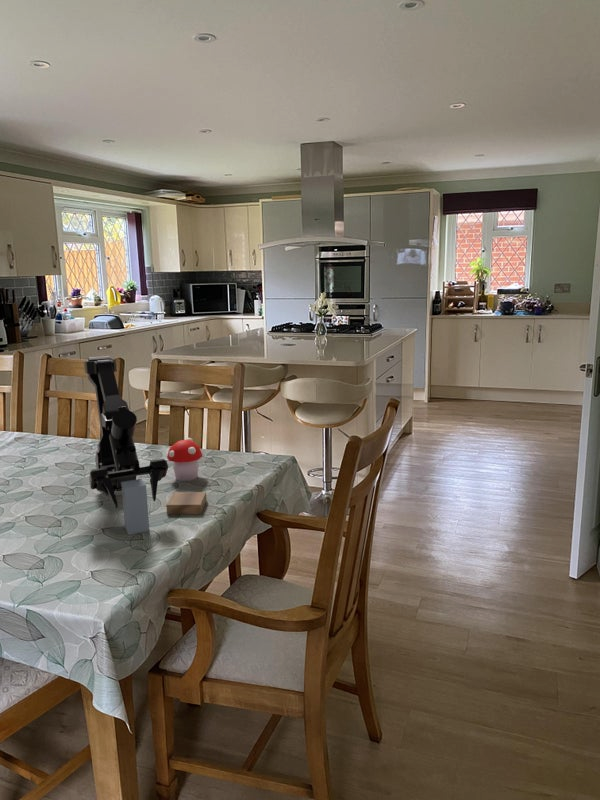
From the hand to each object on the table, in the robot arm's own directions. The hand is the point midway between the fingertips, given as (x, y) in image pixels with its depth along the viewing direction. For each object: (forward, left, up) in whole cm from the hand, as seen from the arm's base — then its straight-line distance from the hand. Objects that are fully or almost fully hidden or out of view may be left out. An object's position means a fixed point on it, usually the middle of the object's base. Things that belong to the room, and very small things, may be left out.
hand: (136, 504), depth 146 cm
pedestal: (+9, +15, -7) cm, 19 cm away
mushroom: (+4, +39, -7) cm, 40 cm away
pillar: (-1, +1, -7) cm, 7 cm away
